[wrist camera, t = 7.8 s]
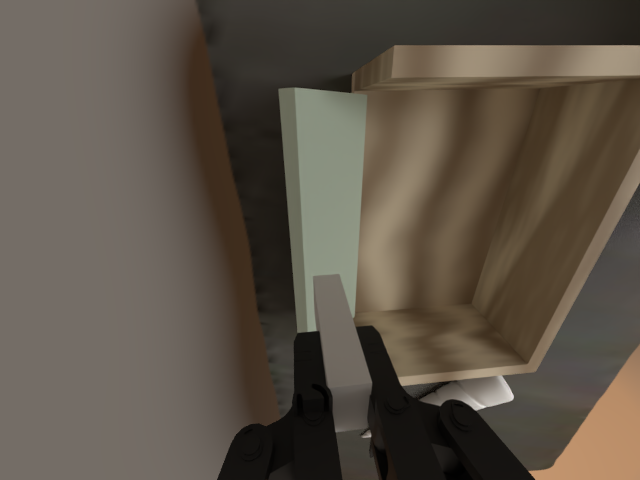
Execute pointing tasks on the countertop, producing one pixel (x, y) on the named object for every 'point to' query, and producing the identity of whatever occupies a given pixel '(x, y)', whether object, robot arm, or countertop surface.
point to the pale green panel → (322, 189)
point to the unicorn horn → (470, 393)
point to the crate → (488, 197)
